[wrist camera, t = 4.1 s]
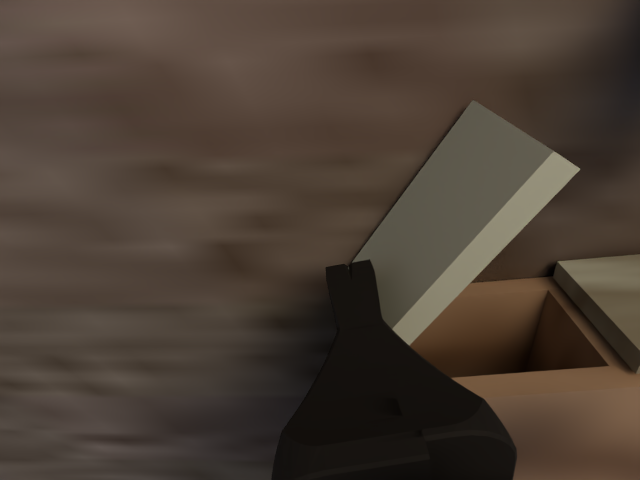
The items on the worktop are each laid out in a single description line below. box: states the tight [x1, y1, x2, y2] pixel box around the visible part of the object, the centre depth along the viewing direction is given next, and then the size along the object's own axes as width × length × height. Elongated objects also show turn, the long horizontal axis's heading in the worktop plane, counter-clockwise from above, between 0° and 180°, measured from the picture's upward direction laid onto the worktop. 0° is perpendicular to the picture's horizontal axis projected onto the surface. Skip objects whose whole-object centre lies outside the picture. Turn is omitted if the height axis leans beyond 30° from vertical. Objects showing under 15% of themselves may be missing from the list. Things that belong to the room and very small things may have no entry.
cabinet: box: [409, 254, 640, 480], centre depth 16 cm, size 10×15×5 cm, turn 96°
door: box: [348, 100, 580, 345], centre depth 12 cm, size 1×9×5 cm, turn 151°
